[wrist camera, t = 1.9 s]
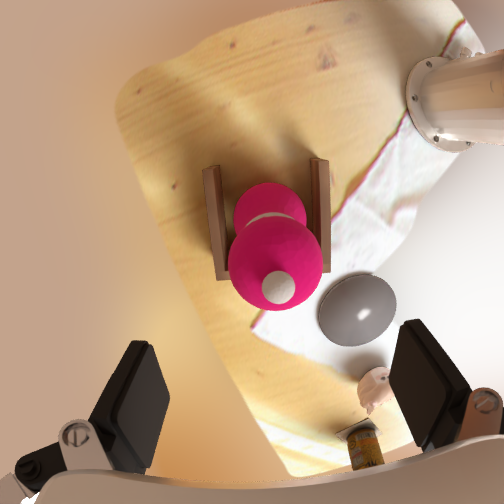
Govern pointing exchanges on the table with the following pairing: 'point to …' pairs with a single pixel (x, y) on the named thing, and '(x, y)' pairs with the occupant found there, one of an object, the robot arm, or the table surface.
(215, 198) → the cradle
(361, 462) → the condiment
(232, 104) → the table surface
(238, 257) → the pepper mill
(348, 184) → the table surface
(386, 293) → the coaster
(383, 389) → the beige plush toy
